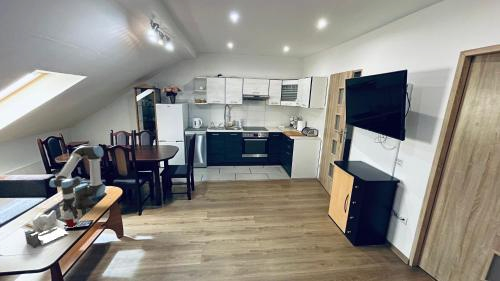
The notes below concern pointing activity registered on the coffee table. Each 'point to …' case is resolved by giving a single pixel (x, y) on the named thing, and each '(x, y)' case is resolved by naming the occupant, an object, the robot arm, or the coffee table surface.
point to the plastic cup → (69, 219)
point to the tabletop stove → (43, 236)
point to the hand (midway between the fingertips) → (71, 219)
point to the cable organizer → (44, 220)
